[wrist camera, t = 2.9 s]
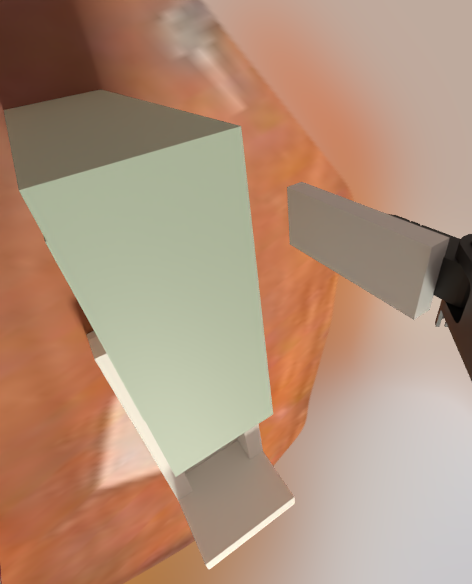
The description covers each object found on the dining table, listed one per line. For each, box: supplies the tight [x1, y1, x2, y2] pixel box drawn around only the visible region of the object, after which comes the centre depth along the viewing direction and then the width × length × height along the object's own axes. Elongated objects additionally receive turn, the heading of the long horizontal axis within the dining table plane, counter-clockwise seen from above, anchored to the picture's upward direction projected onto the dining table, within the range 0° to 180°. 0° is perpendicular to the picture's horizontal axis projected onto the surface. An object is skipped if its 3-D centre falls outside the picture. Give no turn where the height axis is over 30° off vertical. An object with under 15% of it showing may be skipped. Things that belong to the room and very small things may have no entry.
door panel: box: [4, 90, 273, 477], centre depth 13 cm, size 10×4×12 cm, turn 9°
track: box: [86, 331, 295, 569], centre depth 26 cm, size 22×9×8 cm, turn 9°
